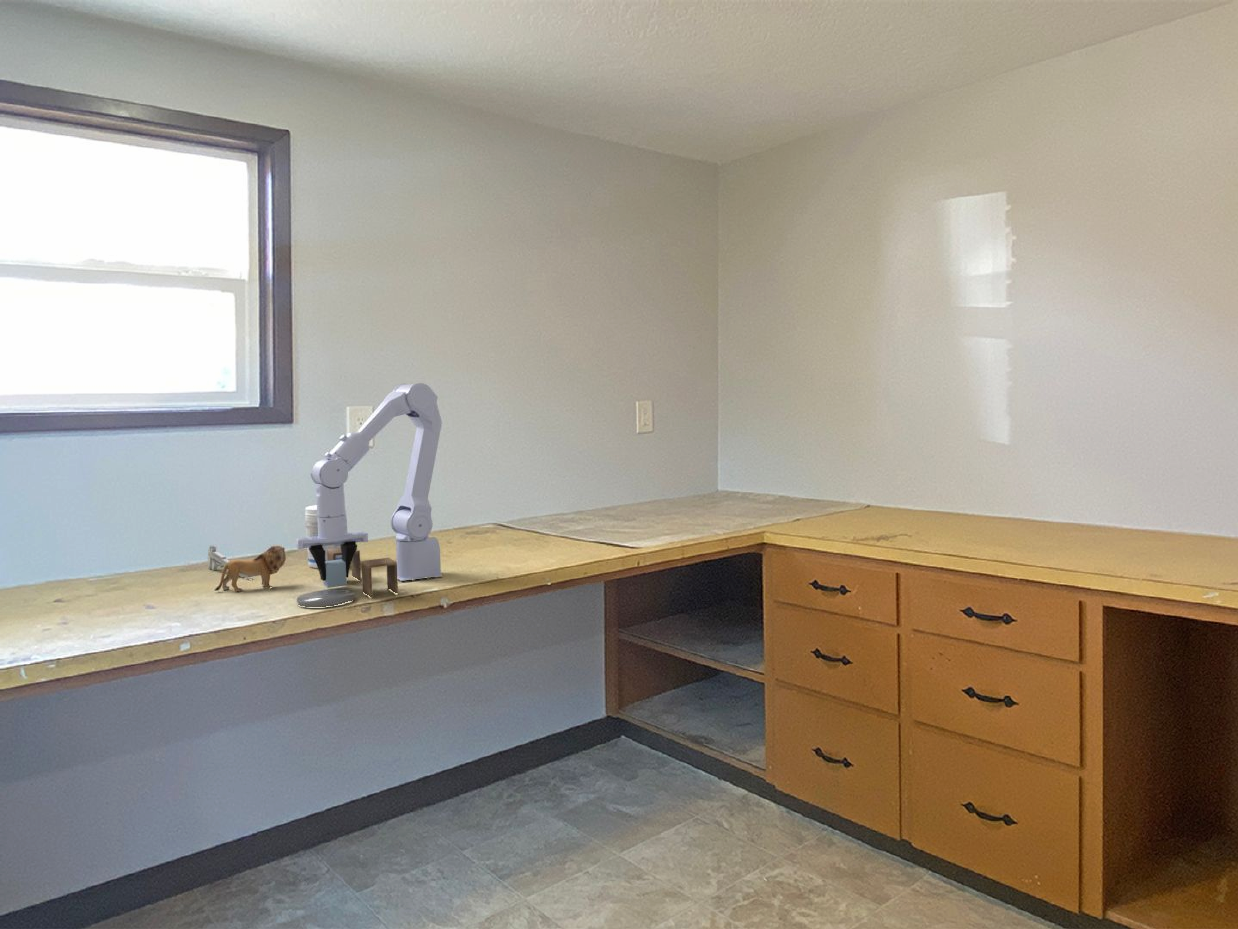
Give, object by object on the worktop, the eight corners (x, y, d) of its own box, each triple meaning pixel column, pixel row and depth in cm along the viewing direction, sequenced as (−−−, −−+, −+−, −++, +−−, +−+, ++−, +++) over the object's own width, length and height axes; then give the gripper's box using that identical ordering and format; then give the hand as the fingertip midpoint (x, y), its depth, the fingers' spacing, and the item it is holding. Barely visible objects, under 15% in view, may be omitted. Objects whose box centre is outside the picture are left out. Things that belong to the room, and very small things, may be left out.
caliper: (208, 570, 206) (206, 545, 206) (212, 569, 207) (211, 544, 206) (250, 581, 193) (248, 554, 193) (254, 580, 194) (253, 553, 194)
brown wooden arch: (354, 576, 195) (353, 546, 195) (360, 581, 190) (359, 550, 190) (328, 580, 192) (326, 549, 192) (334, 584, 187) (333, 553, 187)
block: (342, 581, 185) (341, 559, 185) (346, 585, 182) (345, 562, 181) (323, 584, 183) (322, 561, 183) (327, 588, 180) (326, 564, 179)
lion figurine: (285, 582, 191) (283, 542, 190) (289, 586, 187) (287, 546, 186) (213, 591, 184) (210, 549, 183) (215, 595, 179) (213, 553, 178)
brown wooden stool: (389, 590, 182) (388, 557, 181) (398, 595, 177) (396, 562, 176) (362, 593, 179) (361, 561, 178) (370, 599, 174) (368, 565, 173)
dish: (346, 592, 180) (346, 587, 179) (360, 603, 170) (360, 597, 170) (292, 600, 174) (292, 594, 174) (303, 611, 164) (303, 605, 164)
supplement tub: (344, 559, 216) (341, 502, 214) (353, 566, 207) (350, 506, 206) (304, 564, 211) (301, 505, 209) (311, 571, 202) (309, 510, 201)
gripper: (360, 510, 188) (363, 570, 190) (292, 516, 181) (295, 579, 182) (369, 514, 182) (372, 576, 184) (298, 520, 175) (302, 585, 176)
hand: (334, 578), depth 182 cm, fingers closed on block, 4 cm apart
